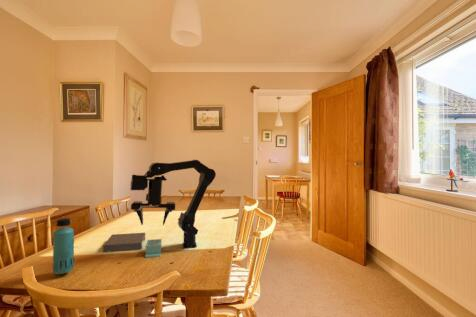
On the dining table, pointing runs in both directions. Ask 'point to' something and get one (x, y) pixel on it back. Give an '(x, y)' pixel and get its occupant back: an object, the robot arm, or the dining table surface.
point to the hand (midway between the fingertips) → (152, 224)
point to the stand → (124, 242)
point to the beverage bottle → (63, 247)
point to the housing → (153, 248)
